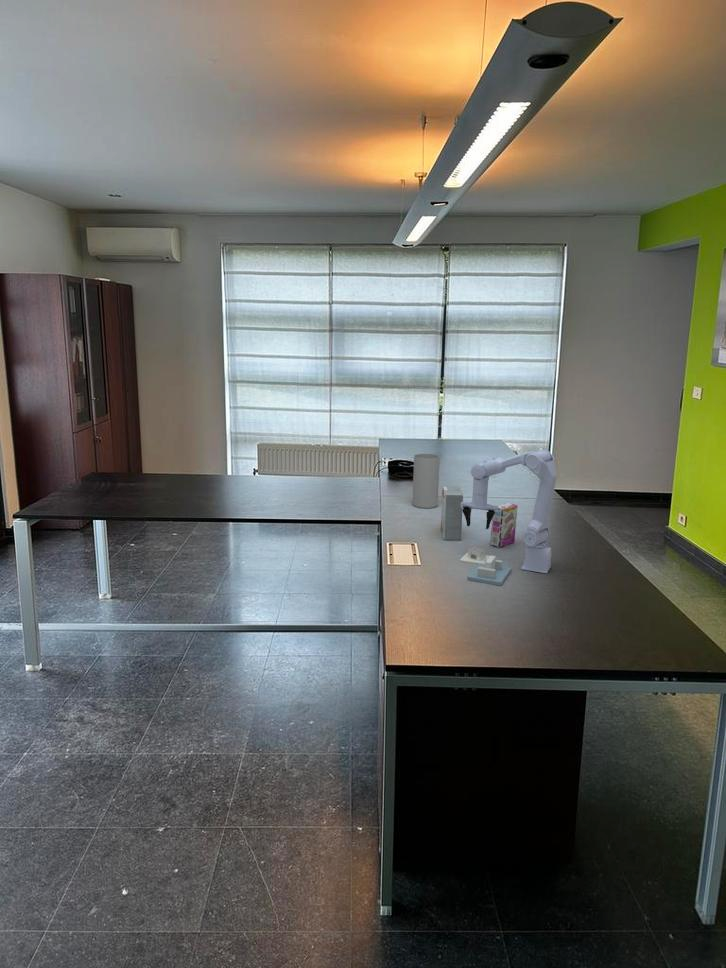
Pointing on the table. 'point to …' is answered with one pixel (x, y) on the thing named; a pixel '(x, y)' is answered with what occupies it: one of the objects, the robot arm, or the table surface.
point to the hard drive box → (451, 513)
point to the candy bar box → (504, 525)
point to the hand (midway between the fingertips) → (478, 527)
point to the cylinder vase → (426, 480)
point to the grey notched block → (476, 550)
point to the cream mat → (473, 559)
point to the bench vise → (490, 572)
